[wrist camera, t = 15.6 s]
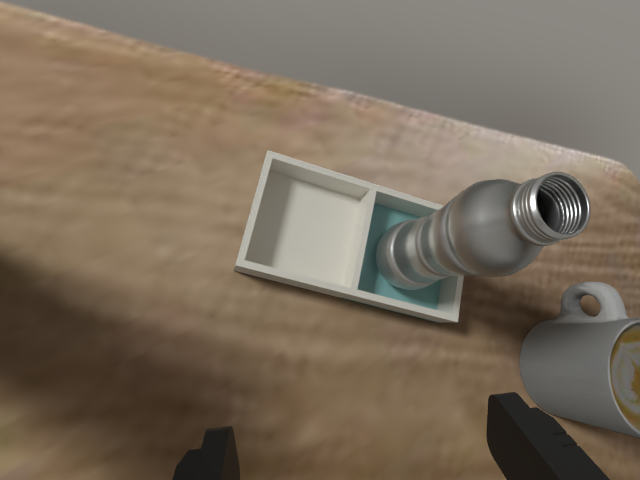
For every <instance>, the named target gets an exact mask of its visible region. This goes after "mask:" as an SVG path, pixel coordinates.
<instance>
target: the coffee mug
mask: <svg viewBox="0 0 640 480" xmlns="http://www.w3.org/2000/svg"><path fill="white" fill-rule="evenodd" d="M585 295H591V296H593V297H595V298H596V299H597V301H598V302H599V304H600V313H599V314H598V315H597V316H595V317H591V316H589V315H587V314H585V313H584V312H583V310H582V309H581V306H580V300H581V298H582V297H583V296H585ZM519 364H520V373H521V377H522V381H523V384H524V386H525V389H526V391H527V392H528V394H529V396H530V397H531V399H532V400H533V401H534V402H535V403H536V404H537V405H538V406H539V407H540V408H541V409H543V410H544V411H546V412H547V413H550V414H552V415H555V416H559V417H563V418H566V419H570V420H574V421H578V422H581V423H585V424H589V425H593V426H596V427H600V428H604V429H607V430H611V431H615V432H619V433H622V434H626V435H630V436H633V437H637V438H640V318H628V317H627V315H626V311H625V308H624V304H623V301H622V298H621V296H620V295H619V293H618V292H617V291H616V290H615V289H614V288H613V287H612V286H610V285H608V284H605V283H602V282H582V283H578V284H575V285H572V286H570V287H569V288H568V289H567V290H566V291H565V292H564V293H563V295H562V299H561V311H560V315H559V316H558V317H557V318H556V319H551V320H546V321H543V322H541V323H539V324H537V325H535V326H534V327H533V328H532V329H531V330H530V331H529V333H528V334H527V336H526V338H525V339H524V341H523V344H522V348H521V351H520V362H519Z"/></svg>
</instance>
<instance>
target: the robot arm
mask: <svg viewBox="0 0 640 480" xmlns="http://www.w3.org/2000/svg"><path fill="white" fill-rule="evenodd" d="M487 442H488V446H489V449H490V452H491V454H492V456H493V458H494V460H495V461H496V463H497V465H498V466H499V468H500V469H501V471H502V473H503V474H504V476H505V477H506V479H507V480H610V479H609V478H608V477H607V476H606V475H605V474H604V473H603V472H602V471H601V469H600V468H599V467H598V466H597V465H596V464H595V463H594V462H593V461H592V460H591V458H590V457H589V456H588V455H587V454H586V453H585V452H584V451H583V450H582V449H581V448H580V446H577V443H576V442H575V441H574V440H573V439H572V438H571V437H570V435H567V433H566V431H565V430H564V429H563V428H562V427H561V426H560V424H559V423H558V422H557V421H556V420H555V419H554V418H553V417H551V416H549V415H548V414H546V413H545V412H543V411H542V410H540V409H538V408H537V407H535V408H529V406H528V405H527V404H526V403H525V402H524V401H523V399H522V398H521V397H520V396H519V395H518V394H517V393H515V392H511V393H503V394H495V395H490V396H489V399H488V416H487ZM173 480H240V469H239V462H238V456H237V450H236V444H235V438H234V432H233V428H232V426H229V427H221V428H213V429H207V430H206V432H205V435H204V439H203V443H202V447H201V449H196V450H188V452H187V453H186V454H185V456H184V457H183V458H182V460H181V461H180V462H179V464H178V465H177V467H176V470H175V473H174V476H173Z"/></svg>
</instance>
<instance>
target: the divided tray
mask: <svg viewBox="0 0 640 480" xmlns="http://www.w3.org/2000/svg"><path fill="white" fill-rule="evenodd" d="M442 207H444V206H443V205H440V204H436V203H433V202H430V201H427V200H424V199H421V198H417V197H414V196H411V195H408V194H405V193H402V192H398V191H395V190H392V189H389V188H386V187H383V186H379V185H376V184H373V183H370V182H367V181H364V180H360V179H357V178H354V177H351V176H348V175H345V174H341V173H338V172H335V171H332V170H329V169H326V168H322V167H319V166H316V165H313V164H310V163H307V162H303V161H300V160H297V159H294V158H291V157H288V156H284V155H281V154H278V153H275V152H272V151H269V150H268V151H267V154H266V157H265V161H264V164H263V168H262V171H261V175H260V178H259V182H258V186H257V189H256V193H255V196H254V200H253V204H252V207H251V211H250V214H249V218H248V222H247V225H246V229H245V232H244V236H243V239H242V243H241V247H240V250H239V254H238V257H237V261H236V265H235V268H234V271H237V272H241V273H245V274H249V275H253V276H257V277H260V278H264V279H268V280H272V281H276V282H280V283H284V284H288V285H292V286H296V287H300V288H304V289H308V290H312V291H316V292H319V293H323V294H327V295H331V296H335V297H339V298H343V299H347V300H351V301H355V302H359V303H363V304H367V305H371V306H375V307H378V308H382V309H386V310H390V311H394V312H398V313H402V314H406V315H410V316H414V317H418V318H422V319H426V320H430V321H434V322H437V323H439V322H458V317H459V309H460V301H461V294H462V286H463V278H464V276H452V277H447V278H444V279H441V280H438V281H436V282H435V283H433V284H431V285H429V286H426V287H424V288H421V289H417V290H407V289H402V288H398V287H395V286H393V285H391V284H390V283H389V282H387V281H386V280H385V279H384V278H383V276H382V275H381V273H380V272H379V270H378V267H377V264H376V249H377V245H378V243H379V240H380V239H381V237H382V236H383V235H384V234H385V232H386V231H387V230H388V229H389V228H391V227H392V226H393V225H395V224H397V223H399V222H402V221H406V220H411V219H419V218H422V217H425V216H429V215H431V214H432V213H434V212H436V211H437V210H439V209H441V208H442Z"/></svg>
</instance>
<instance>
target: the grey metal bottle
mask: <svg viewBox="0 0 640 480" xmlns="http://www.w3.org/2000/svg"><path fill="white" fill-rule="evenodd" d="M589 218H590V202H589V198H588V196H587V193H586V191H585V189H584V188H583V186H582V185H581V184H580V183H579V181H577V180H576V179H575V178H574V177H572V176H570V175H569V174H566V173H562V172H553V173H549V174H546V175H543V176H541V177H539V178H536V179H531V180H528V181H526V182H524V183H522V184H519V183H515V182H512V181H509V180H503V179H496V180H485V181H480V182H477V183H475V184H473V185H471V186H470V187H468V188H467V189H465V190H463V191H462V192H461V193H460V194H458V195H457V196H456V197H455V198H453V199H452V200H451V201H450V202H448V203H447V204H446V205H445V206H444V207H442V208H441V209H439V210H437V211H436V212H434V213H432V214H431V215H429V216H425V217H422V218H419V219H411V220H406V221H402V222H399V223H397V224H395V225H393V226H392V227H391V228H389V229H388V230H387V231H386V232H385V234H384V235H383V236H382V237H381V239H380V240H379V243H378V245H377V249H376V264H377V267H378V270H379V272H380V273H381V275H382V276H383V278H384V279H385V280H386V281H387V282H389V283H390V284H391V285H393V286H395V287H398V288H402V289H407V290H417V289H421V288H424V287H426V286H429V285H431V284H433V283H435V282H436V281H438V280H441V279H444V278H447V277H452V276H464V275H472V276H486V277H500V276H507V275H511V274H514V273H516V272H518V271H520V270H521V269H523V268H525V267H526V266H528V265H529V264H530V263H532V262H533V261H534V259H535V258H536V257H537V256H538V254H539V253H540V251H541V250H542V248H543V246H547V245H551V244H554V243H557V242H559V241H560V240H564V239H568V238H571V237H574V236H576V235H578V234H579V233H581V232H582V231H583V230H584V229H585V228H586V226H587V224H588V222H589Z"/></svg>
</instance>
